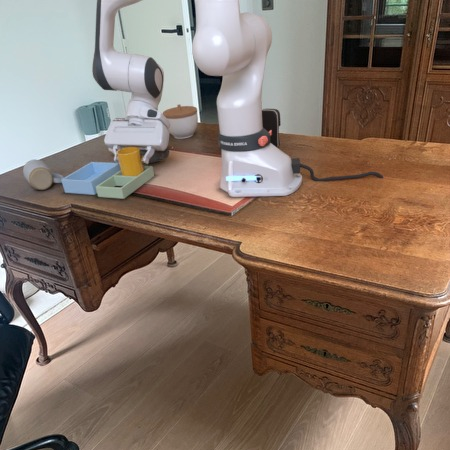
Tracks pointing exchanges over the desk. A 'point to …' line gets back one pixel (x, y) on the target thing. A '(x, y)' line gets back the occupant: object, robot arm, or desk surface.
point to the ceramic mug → (40, 175)
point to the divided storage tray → (123, 184)
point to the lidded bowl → (182, 121)
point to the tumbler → (130, 161)
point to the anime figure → (155, 157)
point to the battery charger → (272, 124)
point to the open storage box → (89, 177)
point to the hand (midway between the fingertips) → (130, 162)
